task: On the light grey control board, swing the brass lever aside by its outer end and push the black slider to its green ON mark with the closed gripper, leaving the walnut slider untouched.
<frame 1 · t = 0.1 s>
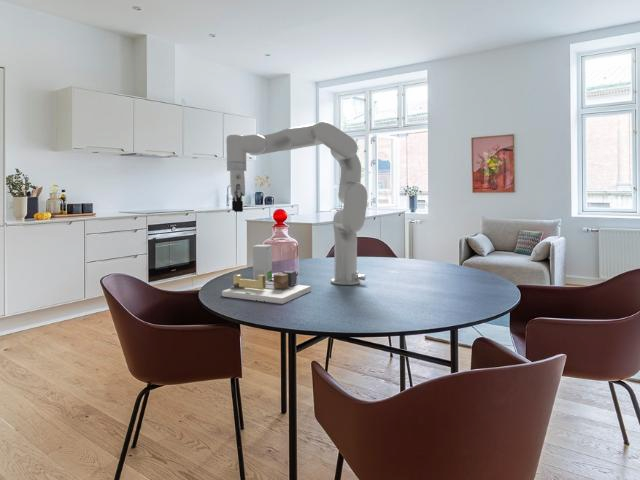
hand: (237, 211, 184), 31 cm above the table, tool pointing down, fingers open, 9 cm apart
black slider: (289, 277, 183), point 5 cm above the table, slide at 0.0 cm
skincare box: (262, 281, 203), on the table
brass lever: (248, 280, 177), point 5 cm above the table, hinge at 0.0°
walnut slider: (280, 280, 177), point 5 cm above the table, slide at 0.0 cm
panel: (267, 293, 179), on the table
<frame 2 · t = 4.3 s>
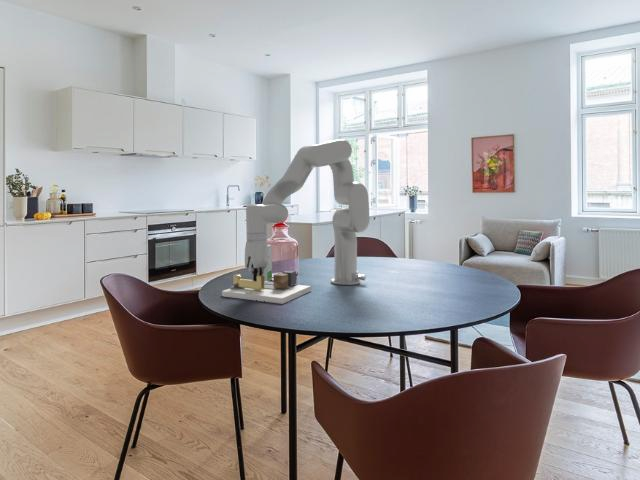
hand: (258, 284, 178), 3 cm above the table, tool pointing down, fingers closed
brass lever: (248, 281, 177), point 5 cm above the table, hinge at -4.5°, touching gripper
everything else where it was.
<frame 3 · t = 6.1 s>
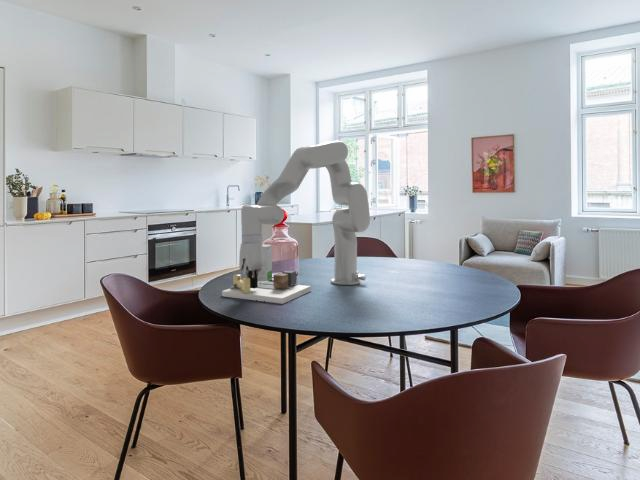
hand: (252, 287, 175), 3 cm above the table, tool pointing down, fingers closed
brass lever: (241, 282, 175), point 5 cm above the table, hinge at -37.2°
everything else where it was.
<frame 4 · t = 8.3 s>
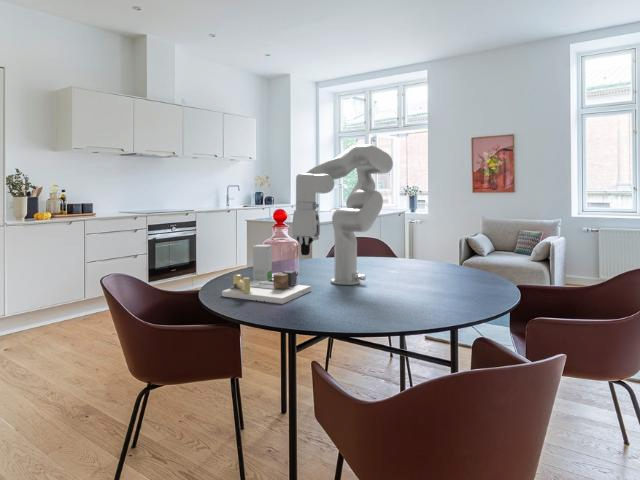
hand: (305, 254, 178), 15 cm above the table, tool pointing down, fingers closed
nothing on the table moved.
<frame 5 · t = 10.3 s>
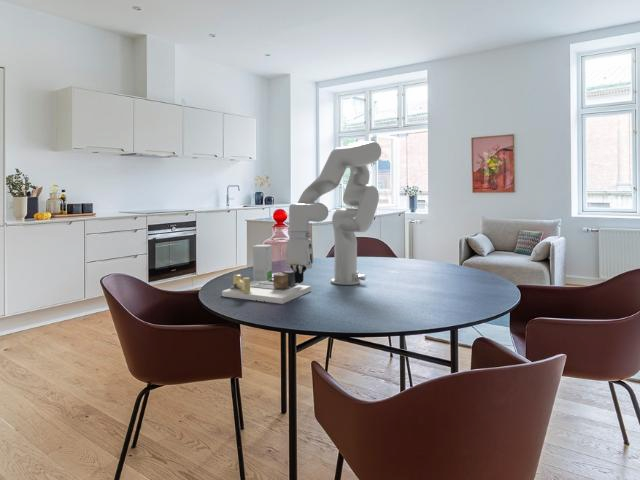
hand: (299, 282, 181), 4 cm above the table, tool pointing down, fingers closed
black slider: (288, 277, 183), point 5 cm above the table, slide at 0.1 cm, touching gripper
everything else where it was.
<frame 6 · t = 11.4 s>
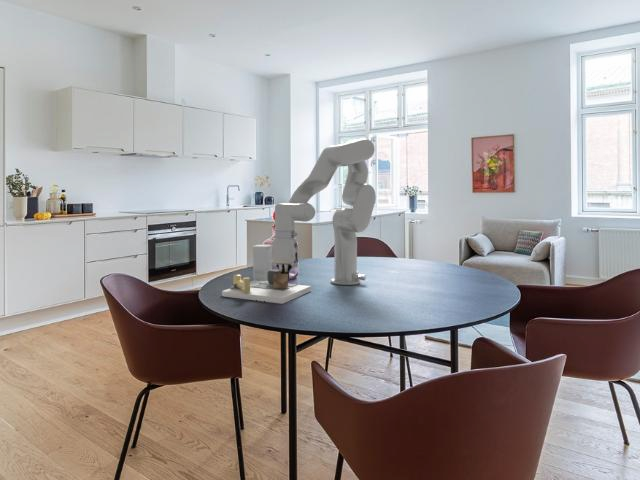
hand: (285, 281, 184), 4 cm above the table, tool pointing down, fingers closed
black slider: (275, 276, 186), point 5 cm above the table, slide at 6.4 cm, touching gripper
everything else where it was.
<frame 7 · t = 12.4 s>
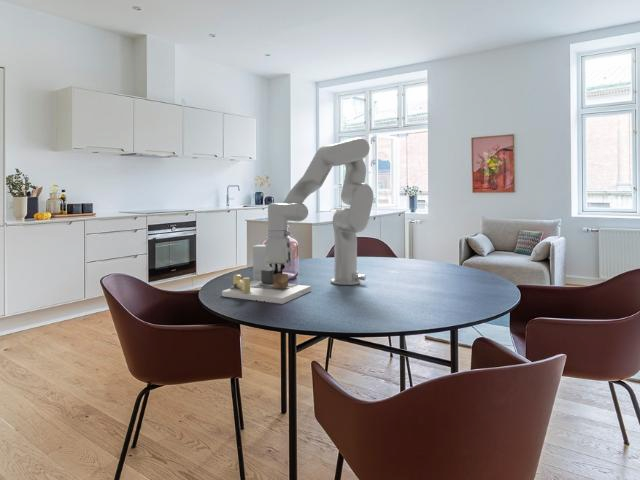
hand: (278, 280, 185), 4 cm above the table, tool pointing down, fingers closed
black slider: (268, 275, 187), point 5 cm above the table, slide at 9.6 cm, touching gripper
everything else where it was.
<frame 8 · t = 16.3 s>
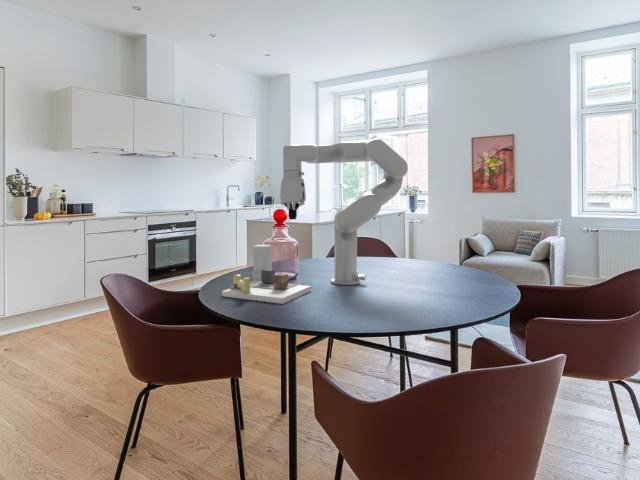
hand: (292, 219, 196), 27 cm above the table, tool pointing down, fingers closed
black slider: (268, 275, 187), point 5 cm above the table, slide at 9.6 cm
everything else where it was.
at the end: brass lever at -37° (first picture: +0°); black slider slide at 9.6 cm; walnut slider slide at 0.0 cm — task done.
